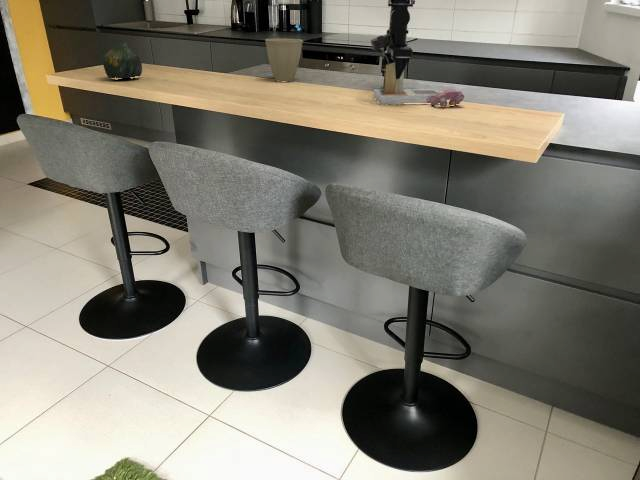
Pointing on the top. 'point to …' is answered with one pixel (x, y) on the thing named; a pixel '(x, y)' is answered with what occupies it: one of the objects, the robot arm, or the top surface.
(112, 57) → the squash
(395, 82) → the skincare box
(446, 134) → the top surface
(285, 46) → the plant pot
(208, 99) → the top surface
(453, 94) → the video game controller
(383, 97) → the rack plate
